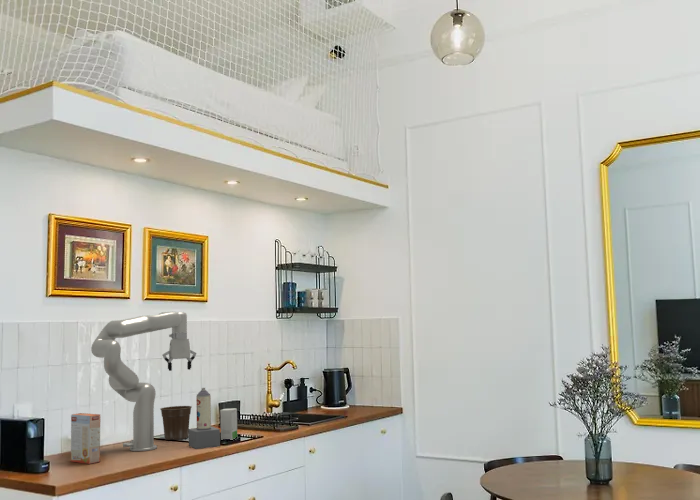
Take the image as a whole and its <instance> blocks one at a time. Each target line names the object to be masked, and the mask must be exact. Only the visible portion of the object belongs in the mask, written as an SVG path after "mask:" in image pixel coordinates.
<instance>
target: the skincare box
mask: <svg viewBox="0 0 700 500" xmlns="http://www.w3.org/2000/svg"><path fill="white" fill-rule="evenodd" d="M237 409H238V408H233V407H232V408H223V409H220V410H219V411H220V419H219V420H220V441H221V440H223V439H230V440H233V439H235V438H236V437H237V438H238V415H237V414H238V411H237ZM235 440H236V439H235ZM233 441H234V440H233Z"/></svg>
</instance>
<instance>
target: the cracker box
mask: <svg viewBox="0 0 700 500" xmlns="http://www.w3.org/2000/svg"><path fill="white" fill-rule="evenodd" d="M70 418H71V420H70V462H71V463H78V464H86V465H90V464H92V465H93V464H96V463H100V462H101V414H98V413H86V412H84V413H83V412H82V413H81V412H80V413H73V414H71V415H70Z"/></svg>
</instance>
